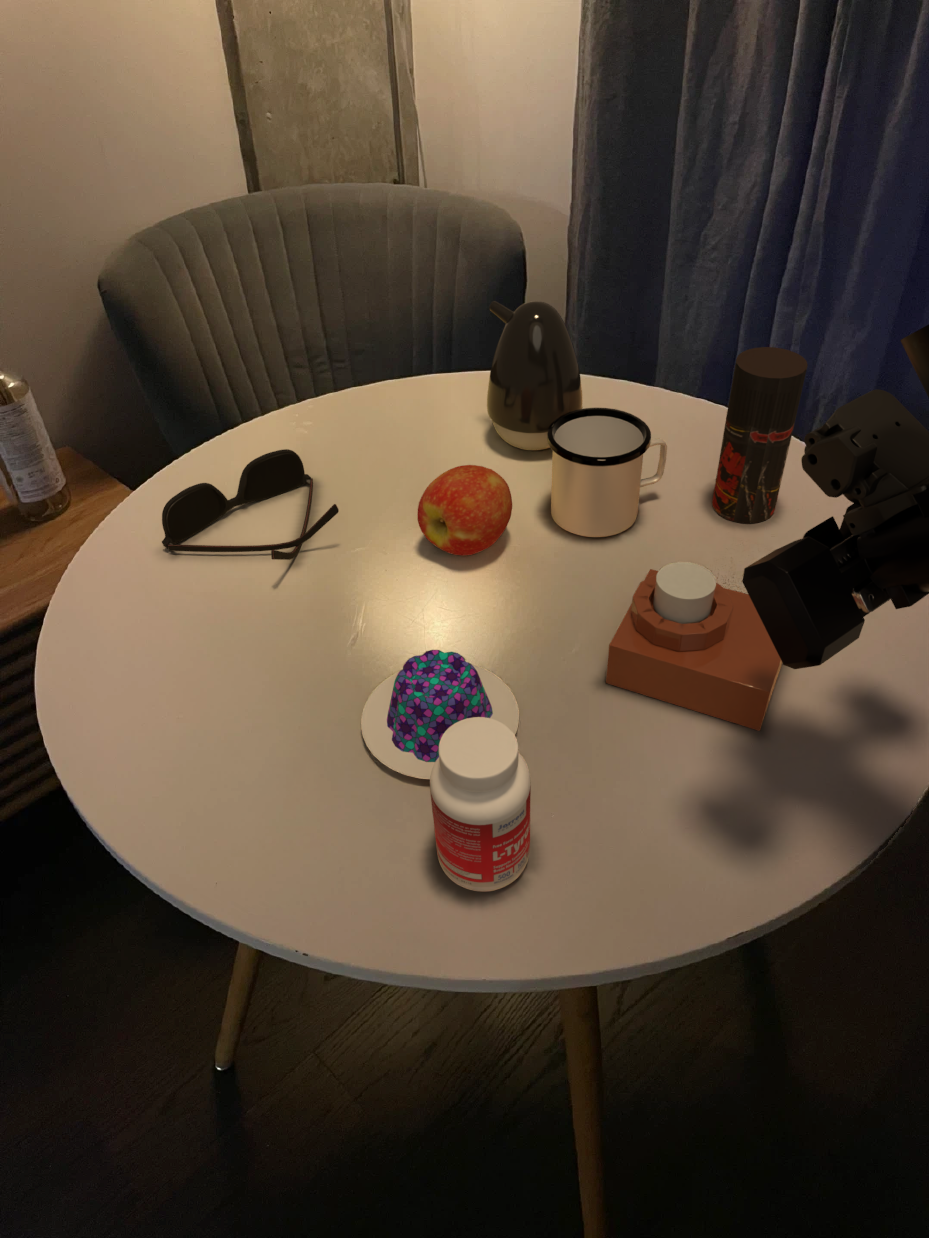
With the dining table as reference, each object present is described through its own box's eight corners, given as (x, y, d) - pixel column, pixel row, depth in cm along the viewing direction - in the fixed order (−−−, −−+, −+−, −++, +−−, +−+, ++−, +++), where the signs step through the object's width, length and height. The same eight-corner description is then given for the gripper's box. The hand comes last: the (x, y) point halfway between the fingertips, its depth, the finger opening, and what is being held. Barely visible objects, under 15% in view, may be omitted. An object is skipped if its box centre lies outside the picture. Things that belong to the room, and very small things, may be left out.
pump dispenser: (517, 406, 103) (516, 276, 93) (597, 429, 99) (605, 294, 88) (468, 446, 97) (461, 311, 87) (550, 472, 93) (554, 333, 82)
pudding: (483, 806, 62) (481, 758, 58) (333, 757, 66) (322, 710, 62) (541, 688, 70) (542, 640, 66) (404, 651, 74) (398, 604, 70)
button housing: (788, 645, 72) (803, 589, 68) (759, 731, 66) (774, 674, 62) (645, 606, 76) (652, 551, 72) (605, 683, 70) (610, 627, 66)
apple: (408, 548, 84) (400, 477, 79) (467, 508, 88) (463, 438, 83) (471, 582, 80) (467, 509, 75) (529, 538, 84) (530, 466, 79)
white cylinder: (718, 595, 69) (722, 570, 67) (702, 631, 66) (707, 605, 64) (662, 581, 70) (666, 555, 69) (645, 615, 67) (648, 589, 66)
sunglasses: (233, 615, 78) (221, 570, 75) (158, 544, 86) (143, 501, 83) (384, 534, 86) (379, 491, 83) (302, 476, 94) (294, 435, 91)
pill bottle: (503, 910, 56) (499, 805, 48) (420, 870, 58) (405, 764, 51) (545, 836, 60) (548, 728, 52) (466, 801, 62) (458, 693, 55)
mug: (570, 552, 82) (574, 469, 76) (530, 499, 89) (530, 419, 83) (684, 522, 85) (696, 439, 79) (636, 473, 92) (644, 393, 86)
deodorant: (781, 522, 84) (815, 377, 74) (718, 524, 85) (744, 379, 75) (767, 487, 89) (797, 345, 79) (706, 489, 89) (729, 348, 79)
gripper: (1031, 319, 48) (816, 423, 62) (809, 436, 40) (621, 525, 54) (1119, 503, 48) (886, 565, 62) (917, 654, 41) (702, 686, 55)
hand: (779, 580), depth 59 cm, fingers closed
